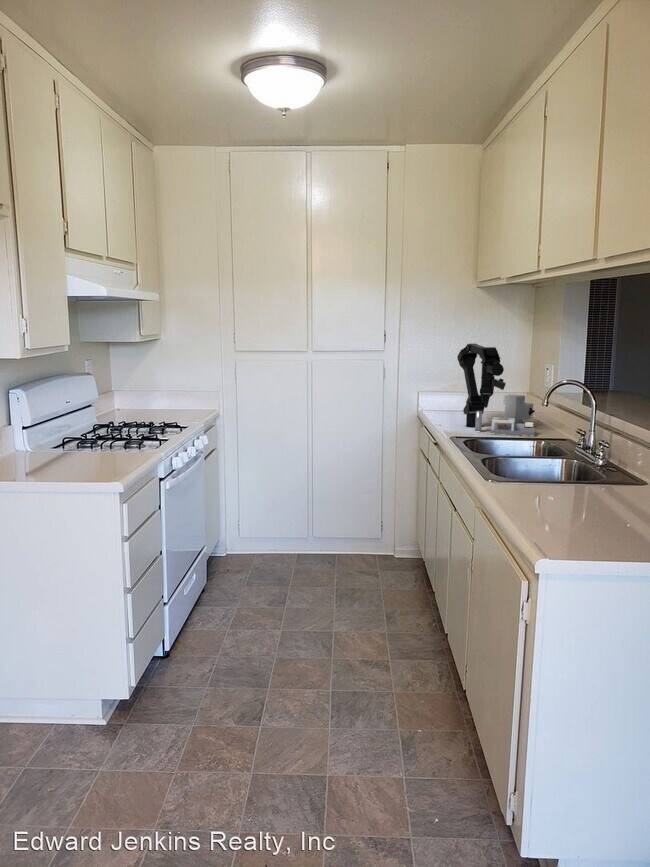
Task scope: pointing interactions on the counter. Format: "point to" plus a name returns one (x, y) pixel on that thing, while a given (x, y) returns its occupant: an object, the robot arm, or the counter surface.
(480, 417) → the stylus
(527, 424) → the rocker switch
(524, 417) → the circuit breaker
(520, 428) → the breaker panel
